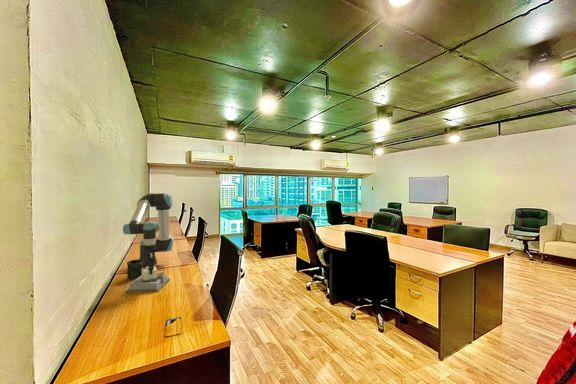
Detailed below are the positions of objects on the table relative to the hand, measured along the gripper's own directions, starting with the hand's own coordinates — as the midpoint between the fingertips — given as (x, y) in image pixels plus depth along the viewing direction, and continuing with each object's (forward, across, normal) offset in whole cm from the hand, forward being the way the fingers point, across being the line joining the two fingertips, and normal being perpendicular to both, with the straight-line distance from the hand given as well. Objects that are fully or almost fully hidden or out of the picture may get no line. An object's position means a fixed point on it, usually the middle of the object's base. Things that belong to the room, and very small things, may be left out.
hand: (149, 277), depth 164 cm
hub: (0, 0, +3) cm, 3 cm away
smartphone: (+7, +63, -1) cm, 64 cm away
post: (+5, 0, 0) cm, 5 cm away
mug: (+6, -24, -5) cm, 26 cm away
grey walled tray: (+6, 0, 0) cm, 6 cm away
